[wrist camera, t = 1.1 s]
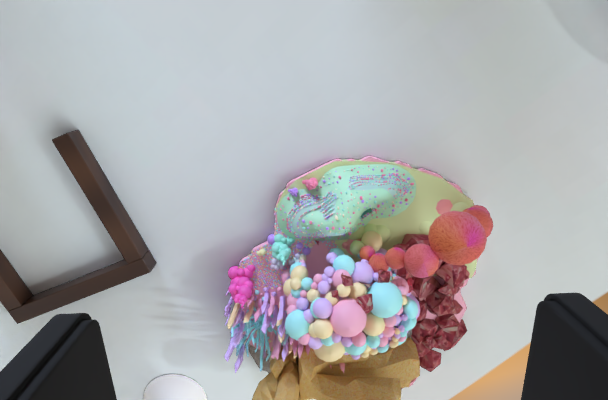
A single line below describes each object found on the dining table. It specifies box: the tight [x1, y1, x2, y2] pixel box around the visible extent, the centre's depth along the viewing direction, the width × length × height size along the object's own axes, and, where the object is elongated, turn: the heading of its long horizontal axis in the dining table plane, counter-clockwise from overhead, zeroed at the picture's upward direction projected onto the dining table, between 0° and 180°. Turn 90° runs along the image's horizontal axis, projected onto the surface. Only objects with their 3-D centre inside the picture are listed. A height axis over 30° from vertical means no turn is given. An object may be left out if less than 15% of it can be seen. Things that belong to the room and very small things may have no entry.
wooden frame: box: [0, 130, 156, 324], centre depth 36 cm, size 14×14×2 cm
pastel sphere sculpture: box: [224, 156, 493, 400], centre depth 34 cm, size 25×24×9 cm
